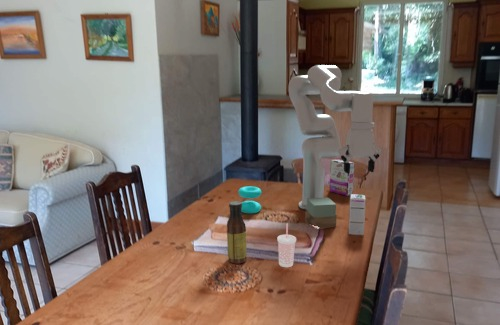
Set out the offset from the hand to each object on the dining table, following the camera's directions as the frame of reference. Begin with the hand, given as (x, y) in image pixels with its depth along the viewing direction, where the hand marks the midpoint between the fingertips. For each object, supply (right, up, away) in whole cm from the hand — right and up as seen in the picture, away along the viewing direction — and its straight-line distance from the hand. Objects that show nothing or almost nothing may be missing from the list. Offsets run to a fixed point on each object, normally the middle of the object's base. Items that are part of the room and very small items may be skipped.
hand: (358, 172), depth 164 cm
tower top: (-12, -17, +12) cm, 24 cm away
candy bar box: (+5, -12, +56) cm, 57 cm away
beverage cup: (-29, -30, -22) cm, 47 cm away
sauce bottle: (-45, -29, -20) cm, 57 cm away
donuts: (-41, -18, +29) cm, 53 cm away
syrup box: (0, -24, +6) cm, 24 cm away
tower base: (-12, -22, +14) cm, 28 cm away
